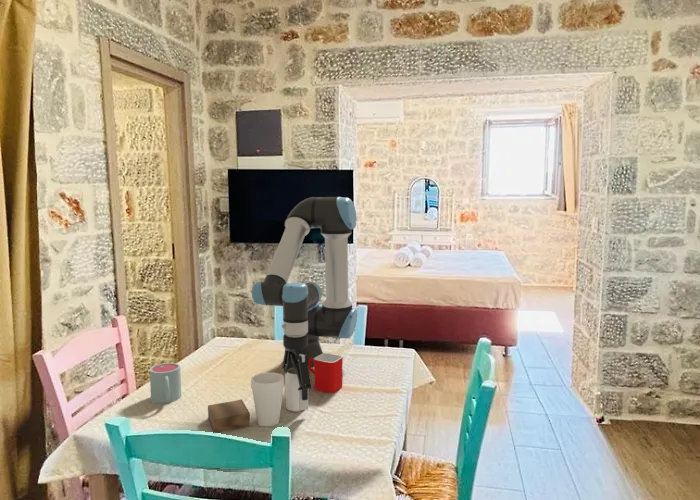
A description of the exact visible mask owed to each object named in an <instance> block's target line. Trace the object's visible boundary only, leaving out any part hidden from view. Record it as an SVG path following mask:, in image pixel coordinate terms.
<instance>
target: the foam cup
mask: <svg viewBox="0 0 700 500" xmlns="http://www.w3.org/2000/svg"><path fill="white" fill-rule="evenodd" d="M250 387H251V388H250V389H251V390H252V396H253V403H254V409H255V416H256V421H257V424H258V425H259V426H262V427H271V426H272V427H273V426H275V425H277V424H279V422H280V417H281V407H282V399H283V390H284V388H285V375H283V374H282V373H278V372H272V371H271V372H270V371H269V372H262V373H257V374H255V375H254V376H252V377H251V379H250Z"/></svg>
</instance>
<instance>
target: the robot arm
mask: <svg viewBox="0 0 700 500" xmlns="http://www.w3.org/2000/svg"><path fill="white" fill-rule="evenodd" d="M356 211H357V210H356V206H355V204H354V201H352V199H351V198H349V197H342V196H325V197H324V196H322V197H321V196H319V197H318V196H317V197H316V196H312V197H307V198H306V199H304V200H301V201H299V203H297V204H296V205H295V206H294V207H293V209H292V210H291V211H290V212H289V213H288V215H287V217H286V219H285V221H284V227H285V228H284V231H283V234H282V236H281V239H280V242H279V244H278V245H277V248H276V251H275V254H274V255H273V258H272V261H271V263H270V266H269V268H268V271H267V272H266V275H265V278H264V279H263V281H256V282H255V283H254V284H253V287H252V289H251V297H252V300H253V302H254V303H255V304H256V305H260V306H261V305H262V306H275V307H282V322H283V323H282V324H281V328H282V329H283V331H282V332H283V336H282V342H283V348H284V355H283V361H282V369H283V372H284V393H285V394H286V374H287V370H288V369H290V368H295V369H296V372H297V377H298V381H299V385H300V387H299V388H298V390H299V410H300V411H299V412H302V411H301V410H303V411H304V410H309V390H311V389H312V382H311V376H310V370H309V359H310V358H313V359H314V358H315V357H317V356H319V355H320V354H322V353H324V352H323V350H322V349H323V348H322V345H321V344H320V338H321V337H323V338H331V339H332V338H333V339H334V338H335V339H350V338H351V337H352V336H353V335H354V332H355V330H356V326H357V321H358V310H357V309H356V308H354V307H353V303H352V301H351V300H350V299H349V260H348V259H349V255H348V254H349V253H348V252H349V251H348V250H349V249H348V247H349V246H348V243H349V242H348V241H349V240H348V239H349V237H350V235H352V230H354V229H355V228H356V226H357V218H358V217H357V212H356ZM311 229H320V235H322V236H323V238H324V254H325V255H324V256H325V257H324V259H325V262H324V263H325V264H324V265H325V268H324V269H325V300H324V301H323V302H322V303H321V306H320V301H321V299H322V297H323V293H322V288H321V286H320V285H319V284H317V283H315V282H306V283H304V282H290V283H289V282H288V281H289V278H290V276H291V273H292V271H293V268H294V266H295V263H296V261H297V258H298V255H299V252H300V250H301V246H302V245H303V242H304V239H305V236H307V235H308V234H309V233H310V231H311ZM312 366H313V367H314V361H311V367H312Z"/></svg>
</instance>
